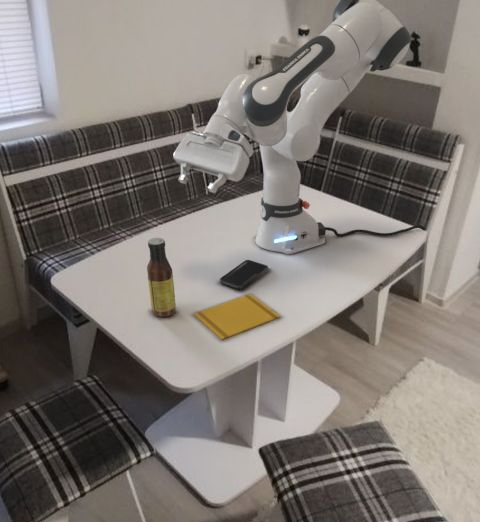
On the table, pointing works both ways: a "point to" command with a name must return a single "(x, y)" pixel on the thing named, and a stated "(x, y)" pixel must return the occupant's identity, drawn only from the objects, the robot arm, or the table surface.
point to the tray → (236, 316)
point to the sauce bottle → (160, 279)
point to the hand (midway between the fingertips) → (196, 186)
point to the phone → (244, 275)
